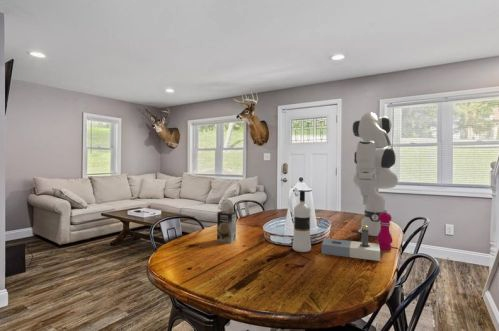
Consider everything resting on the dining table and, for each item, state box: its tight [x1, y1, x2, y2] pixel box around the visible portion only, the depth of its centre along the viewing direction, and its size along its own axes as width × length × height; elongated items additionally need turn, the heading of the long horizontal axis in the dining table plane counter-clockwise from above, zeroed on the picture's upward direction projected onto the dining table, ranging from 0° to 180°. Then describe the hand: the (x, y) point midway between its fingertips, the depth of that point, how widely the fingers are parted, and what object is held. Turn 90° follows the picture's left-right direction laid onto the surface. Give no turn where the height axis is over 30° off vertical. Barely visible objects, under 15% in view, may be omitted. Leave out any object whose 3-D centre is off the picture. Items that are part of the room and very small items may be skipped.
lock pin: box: [360, 224, 369, 247], centre depth 137 cm, size 3×3×14 cm
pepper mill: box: [376, 209, 393, 251], centre depth 148 cm, size 7×7×20 cm
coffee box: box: [216, 210, 237, 244], centre depth 159 cm, size 9×6×16 cm
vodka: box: [292, 190, 312, 253], centre depth 144 cm, size 9×9×30 cm
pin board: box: [321, 237, 381, 262], centre depth 139 cm, size 12×26×4 cm, turn 68°
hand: (365, 203), depth 136 cm, fingers open, 8 cm apart
